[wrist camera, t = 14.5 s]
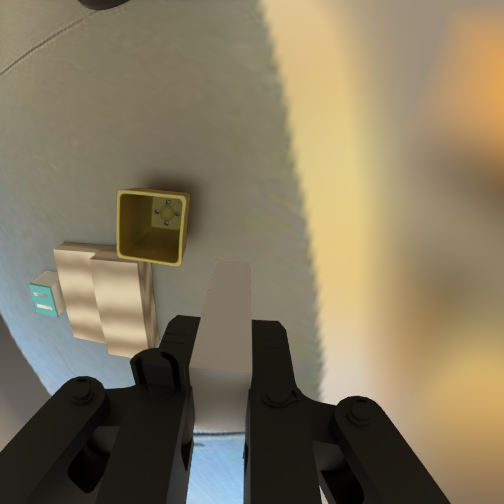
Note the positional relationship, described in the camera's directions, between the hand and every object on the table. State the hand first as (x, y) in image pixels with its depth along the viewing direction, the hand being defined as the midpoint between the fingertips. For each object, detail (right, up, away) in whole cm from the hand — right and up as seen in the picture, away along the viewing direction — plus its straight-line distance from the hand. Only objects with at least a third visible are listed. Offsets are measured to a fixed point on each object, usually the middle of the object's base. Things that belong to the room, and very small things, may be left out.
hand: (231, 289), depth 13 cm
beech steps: (-24, -6, +33) cm, 42 cm away
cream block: (-36, -7, +28) cm, 46 cm away
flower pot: (-12, +8, +29) cm, 32 cm away
